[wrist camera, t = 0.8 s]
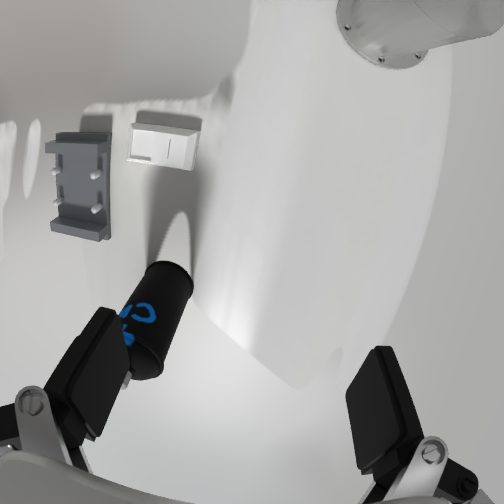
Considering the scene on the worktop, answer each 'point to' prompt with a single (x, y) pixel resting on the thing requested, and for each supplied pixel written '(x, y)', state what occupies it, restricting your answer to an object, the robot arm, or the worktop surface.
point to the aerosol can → (154, 318)
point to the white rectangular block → (163, 145)
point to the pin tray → (82, 184)
